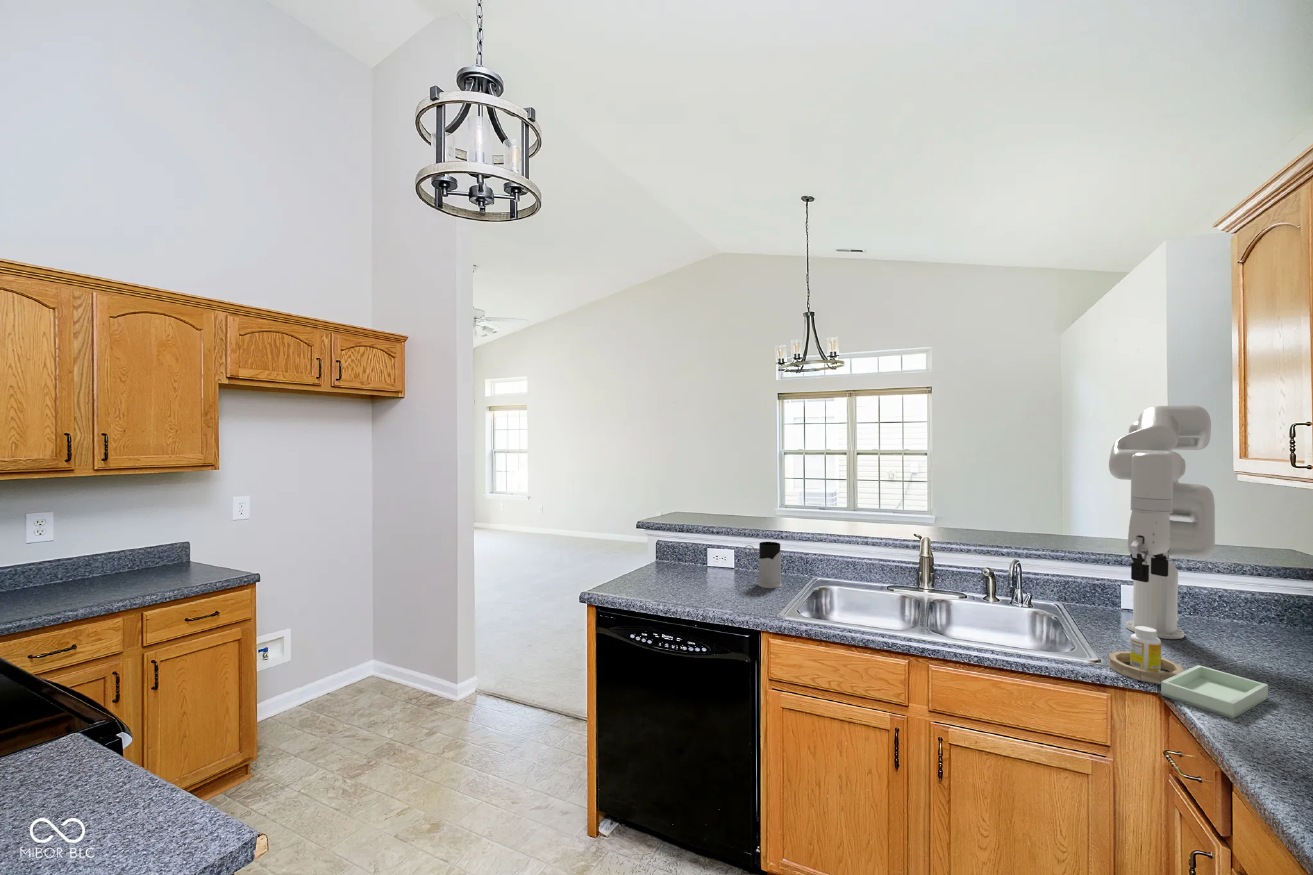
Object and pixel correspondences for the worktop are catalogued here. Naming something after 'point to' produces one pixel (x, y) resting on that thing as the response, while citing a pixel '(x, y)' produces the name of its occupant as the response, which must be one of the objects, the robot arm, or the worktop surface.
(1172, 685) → the tray
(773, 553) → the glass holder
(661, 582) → the worktop surface
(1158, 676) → the collar
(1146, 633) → the supplement bottle
